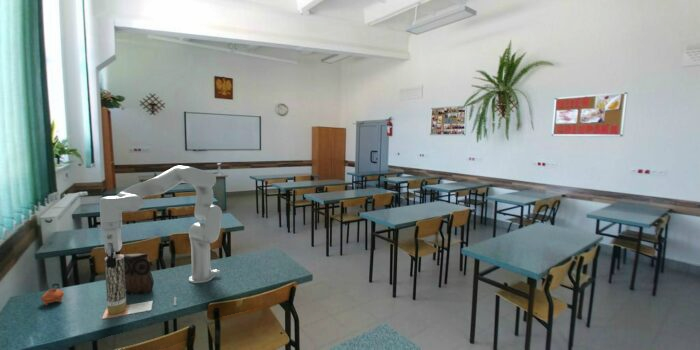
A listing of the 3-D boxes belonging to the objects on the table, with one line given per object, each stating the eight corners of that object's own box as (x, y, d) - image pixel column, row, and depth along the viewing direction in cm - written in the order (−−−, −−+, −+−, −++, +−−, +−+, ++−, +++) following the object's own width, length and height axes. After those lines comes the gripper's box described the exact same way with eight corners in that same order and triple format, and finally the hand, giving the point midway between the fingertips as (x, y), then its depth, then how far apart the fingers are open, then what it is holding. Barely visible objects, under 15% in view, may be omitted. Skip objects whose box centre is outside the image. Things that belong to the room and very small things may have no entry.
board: (176, 297, 160) (176, 296, 160) (176, 305, 152) (176, 305, 152) (106, 309, 148) (106, 308, 148) (101, 319, 140) (101, 318, 140)
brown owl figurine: (155, 291, 165) (153, 253, 163) (125, 299, 157) (122, 259, 155) (149, 283, 174) (147, 247, 172) (120, 290, 166) (118, 252, 164)
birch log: (115, 306, 150) (112, 253, 147) (129, 307, 149) (127, 254, 147) (103, 314, 143) (100, 259, 140) (119, 315, 143) (116, 260, 140)
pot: (69, 296, 158) (66, 285, 155) (58, 308, 151) (55, 296, 148) (50, 297, 156) (47, 285, 154) (38, 309, 149) (35, 297, 147)
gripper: (118, 229, 136) (120, 268, 137) (125, 219, 151) (127, 255, 153) (96, 231, 132) (98, 271, 134) (105, 220, 147) (107, 257, 149)
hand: (113, 263), depth 143 cm, fingers open, 9 cm apart
